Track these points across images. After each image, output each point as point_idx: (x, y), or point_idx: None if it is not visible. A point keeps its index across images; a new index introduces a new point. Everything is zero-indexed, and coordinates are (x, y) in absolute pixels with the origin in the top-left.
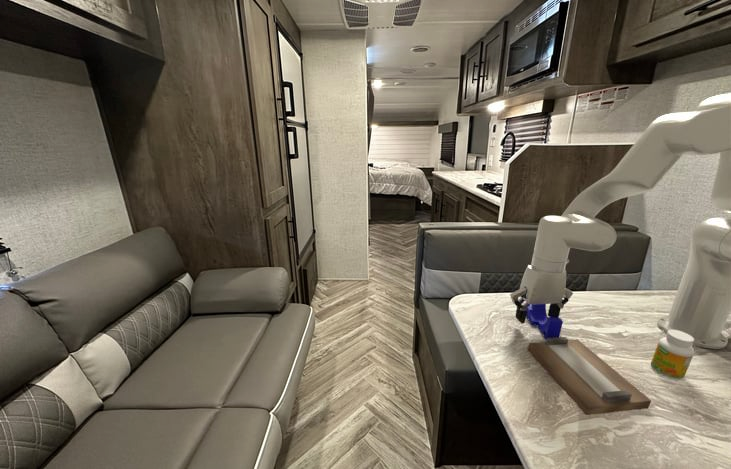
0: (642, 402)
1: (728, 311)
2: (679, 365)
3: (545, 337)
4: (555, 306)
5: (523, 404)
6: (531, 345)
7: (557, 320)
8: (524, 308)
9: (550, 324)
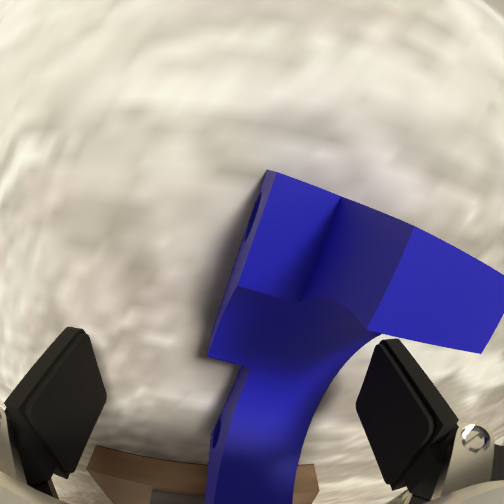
0: None
1: None
2: None
3: (212, 434)
4: (411, 471)
5: (57, 490)
6: (93, 476)
7: None
8: (42, 483)
9: None
